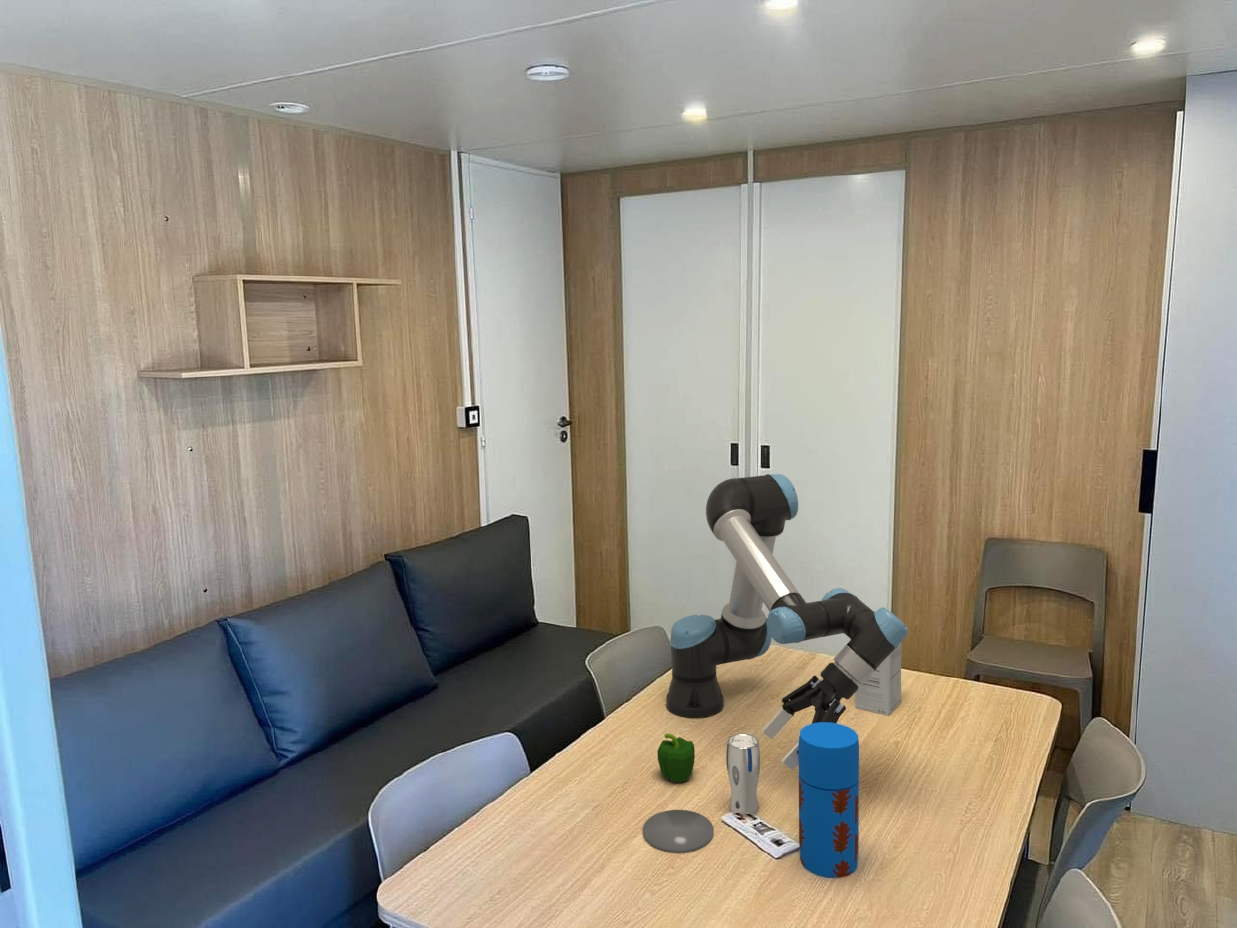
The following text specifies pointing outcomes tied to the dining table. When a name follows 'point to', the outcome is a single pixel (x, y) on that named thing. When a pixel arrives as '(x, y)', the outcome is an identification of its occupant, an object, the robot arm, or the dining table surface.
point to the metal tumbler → (743, 772)
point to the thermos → (829, 799)
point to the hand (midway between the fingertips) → (776, 750)
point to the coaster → (678, 831)
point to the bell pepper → (676, 758)
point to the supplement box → (882, 686)
